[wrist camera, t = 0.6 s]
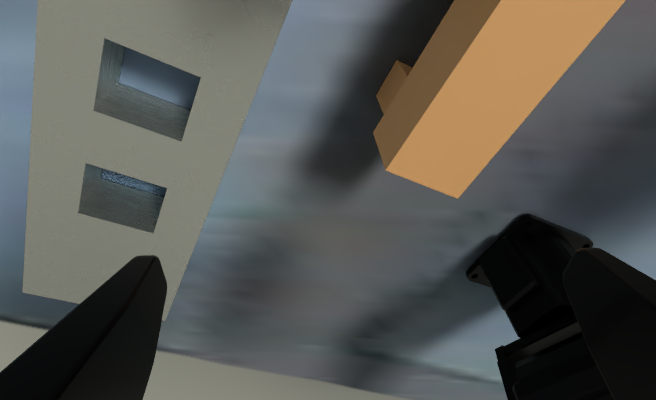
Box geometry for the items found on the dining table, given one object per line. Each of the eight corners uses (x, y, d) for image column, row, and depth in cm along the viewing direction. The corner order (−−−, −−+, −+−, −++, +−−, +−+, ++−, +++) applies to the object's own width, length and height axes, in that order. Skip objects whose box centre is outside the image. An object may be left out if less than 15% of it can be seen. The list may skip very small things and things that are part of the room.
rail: (325, -101, 15) (332, -100, 13) (175, 284, 28) (165, 321, 25) (97, -243, 12) (52, -274, 10) (47, 254, 25) (22, 292, 23)
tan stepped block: (538, -53, 17) (648, -27, 11) (417, 125, 21) (457, 198, 16) (473, -99, 15) (564, -94, 10) (361, 99, 20) (385, 170, 15)
